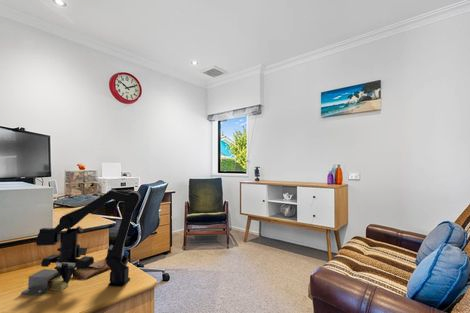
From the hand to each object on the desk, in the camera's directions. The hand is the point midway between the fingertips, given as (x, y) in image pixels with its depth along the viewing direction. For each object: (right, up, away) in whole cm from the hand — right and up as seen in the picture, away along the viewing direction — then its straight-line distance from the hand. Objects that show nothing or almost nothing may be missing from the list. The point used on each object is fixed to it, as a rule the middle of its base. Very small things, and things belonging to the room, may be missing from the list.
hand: (67, 282), depth 97 cm
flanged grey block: (-10, -2, +1) cm, 10 cm away
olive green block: (-4, -2, 0) cm, 5 cm away
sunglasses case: (+3, -4, +16) cm, 17 cm away
